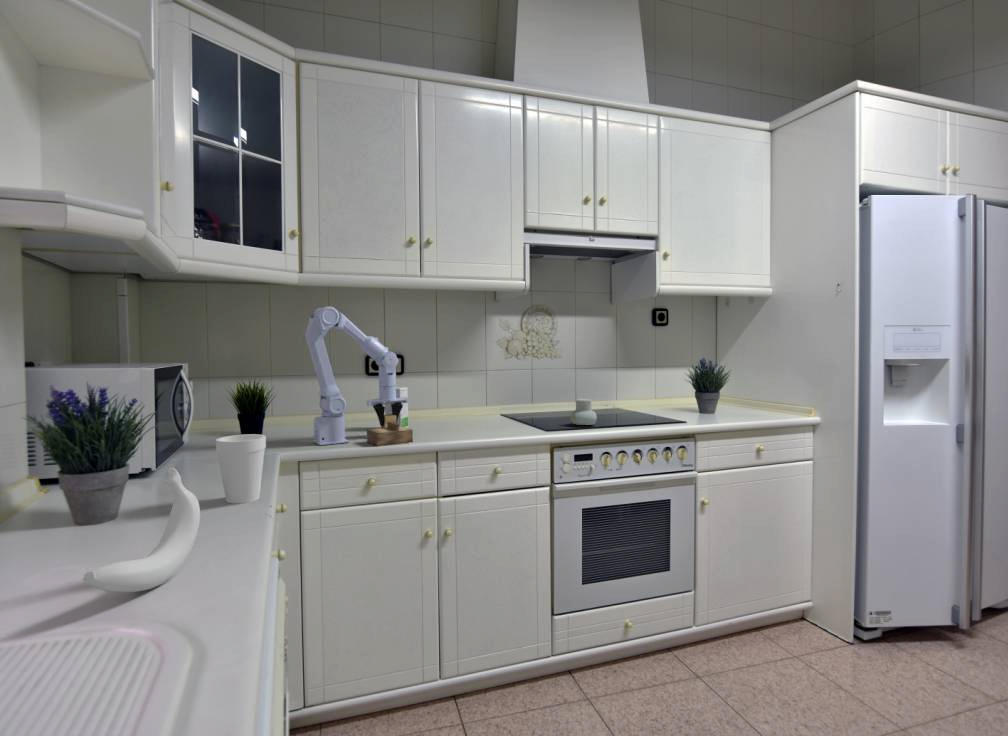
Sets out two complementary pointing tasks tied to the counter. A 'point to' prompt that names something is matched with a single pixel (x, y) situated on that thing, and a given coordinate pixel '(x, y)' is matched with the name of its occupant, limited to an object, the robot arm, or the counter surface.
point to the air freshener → (583, 413)
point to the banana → (166, 553)
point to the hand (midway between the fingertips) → (388, 425)
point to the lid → (390, 428)
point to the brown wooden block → (389, 437)
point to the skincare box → (404, 411)
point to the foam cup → (241, 466)
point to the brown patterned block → (389, 419)
